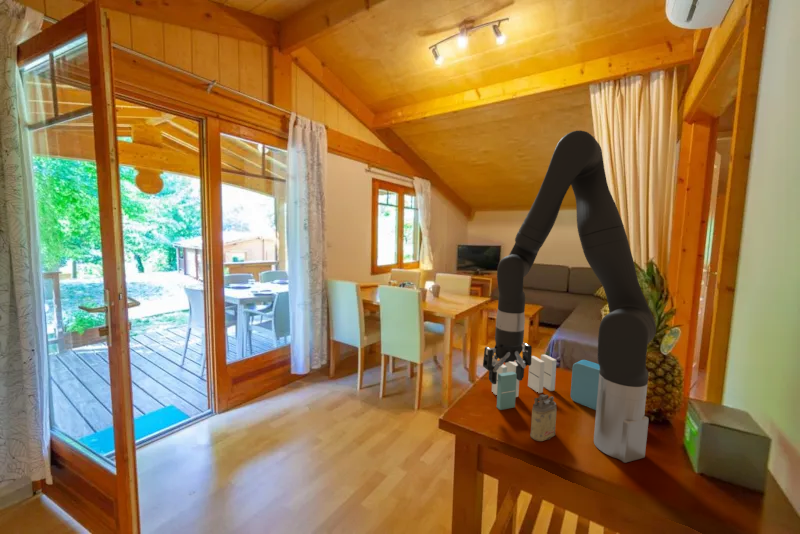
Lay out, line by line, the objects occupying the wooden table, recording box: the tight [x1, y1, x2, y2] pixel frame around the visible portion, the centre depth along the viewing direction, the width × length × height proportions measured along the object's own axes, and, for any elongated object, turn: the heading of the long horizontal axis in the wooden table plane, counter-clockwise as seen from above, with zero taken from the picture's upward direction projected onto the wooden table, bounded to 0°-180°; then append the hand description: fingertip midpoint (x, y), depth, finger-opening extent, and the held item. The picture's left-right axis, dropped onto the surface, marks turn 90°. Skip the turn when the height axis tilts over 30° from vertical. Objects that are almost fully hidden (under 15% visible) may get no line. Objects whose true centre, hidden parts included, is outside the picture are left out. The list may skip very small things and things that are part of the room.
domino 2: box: [504, 361, 520, 398], centre depth 104 cm, size 2×5×10 cm, turn 18°
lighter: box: [530, 393, 558, 442], centre depth 83 cm, size 7×4×10 cm, turn 120°
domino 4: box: [527, 355, 545, 394], centre depth 107 cm, size 2×5×10 cm, turn 18°
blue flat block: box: [570, 359, 600, 411], centre depth 97 cm, size 12×4×12 cm, turn 38°
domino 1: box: [491, 363, 507, 396], centre depth 103 cm, size 2×5×10 cm, turn 18°
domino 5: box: [540, 354, 557, 392], centre depth 108 cm, size 2×5×10 cm, turn 18°
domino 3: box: [496, 372, 517, 411], centre depth 96 cm, size 2×5×10 cm, turn 108°
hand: (506, 381), depth 96 cm, fingers open, 8 cm apart
